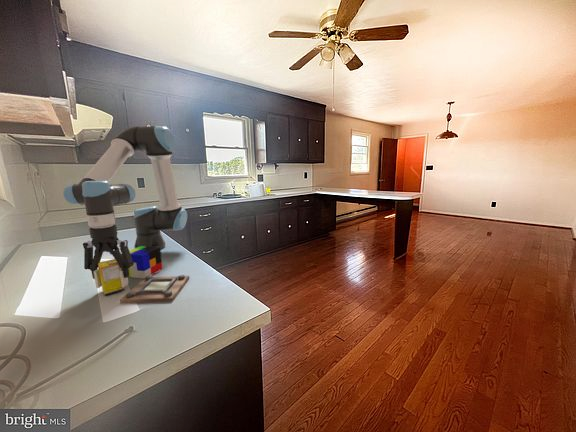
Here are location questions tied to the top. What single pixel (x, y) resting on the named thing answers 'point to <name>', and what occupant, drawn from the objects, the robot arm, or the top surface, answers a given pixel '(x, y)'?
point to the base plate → (156, 289)
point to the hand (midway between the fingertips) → (112, 285)
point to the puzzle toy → (145, 261)
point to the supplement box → (110, 276)
